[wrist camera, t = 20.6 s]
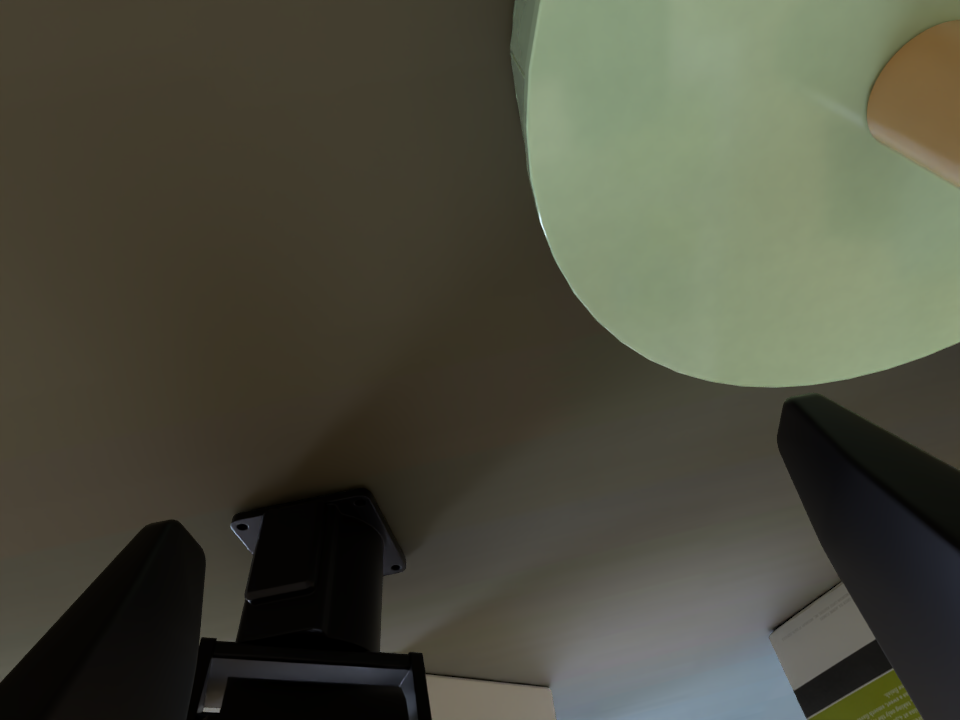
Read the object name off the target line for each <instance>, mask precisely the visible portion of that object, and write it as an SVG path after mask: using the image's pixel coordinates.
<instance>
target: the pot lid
mask: <svg viewBox="0 0 960 720" xmlns="http://www.w3.org/2000/svg"><path fill="white" fill-rule="evenodd" d="M523 127H524V139H525V150H526V162H527V172H528V176H529V181H530V185H531V190H532V194H533V198H534V203H535V207H536V212H537V216H538V218H539V221H540V224H541V226H542V229H543V231H544V234H545V237H546V239H547V242H548V244H549V247H550V249H551V252H552V255H553V257H554V260H555V262H556V264H557V265H558V267H559V269H560V270H561V272H562V274H563V276H564V277H565V279H566V281H567V282H568V284H569V286H570V288H571V289H572V291H573V293H574V294H575V295H576V297H577V298H578V299H579V300H580V301H581V303H582V304H583V305H584V306H585V307H586V309H587V310H588V311H589V312H590V314H591V315H592V316H593V317H594V318H595V320H596V321H597V322H599V323H600V324H601V325H602V326H603V327H604V328H605V329H607V330H608V331H609V332H610V333H611V334H612V335H613V336H615V337H616V338H617V339H618V340H619V341H620V342H622V343H623V344H625V345H626V346H628V347H630V348H631V349H633V350H634V351H636V352H637V353H639V354H641V355H642V356H644V357H645V358H647V359H649V360H651V361H653V362H655V363H658V364H660V365H662V366H664V367H667V368H669V369H671V370H673V371H676V372H678V373H681V374H685V375H688V376H692V377H695V378H699V379H703V380H706V381H710V382H717V383H723V384H730V385H736V386H746V387H773V388H777V387H792V386H807V385H816V384H822V383H828V382H834V381H841V380H847V379H851V378H855V377H859V376H863V375H867V374H871V373H875V372H879V371H883V370H887V369H890V368H893V367H896V366H899V365H902V364H905V363H908V362H911V361H914V360H917V359H920V358H923V357H926V356H928V355H930V354H933V353H935V352H938V351H940V350H942V349H945V348H947V347H950V346H952V345H954V344H957V343H959V342H960V0H535V7H534V13H533V19H532V25H531V32H530V38H529V44H528V50H527V57H526V63H525V84H524V108H523Z"/></svg>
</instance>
